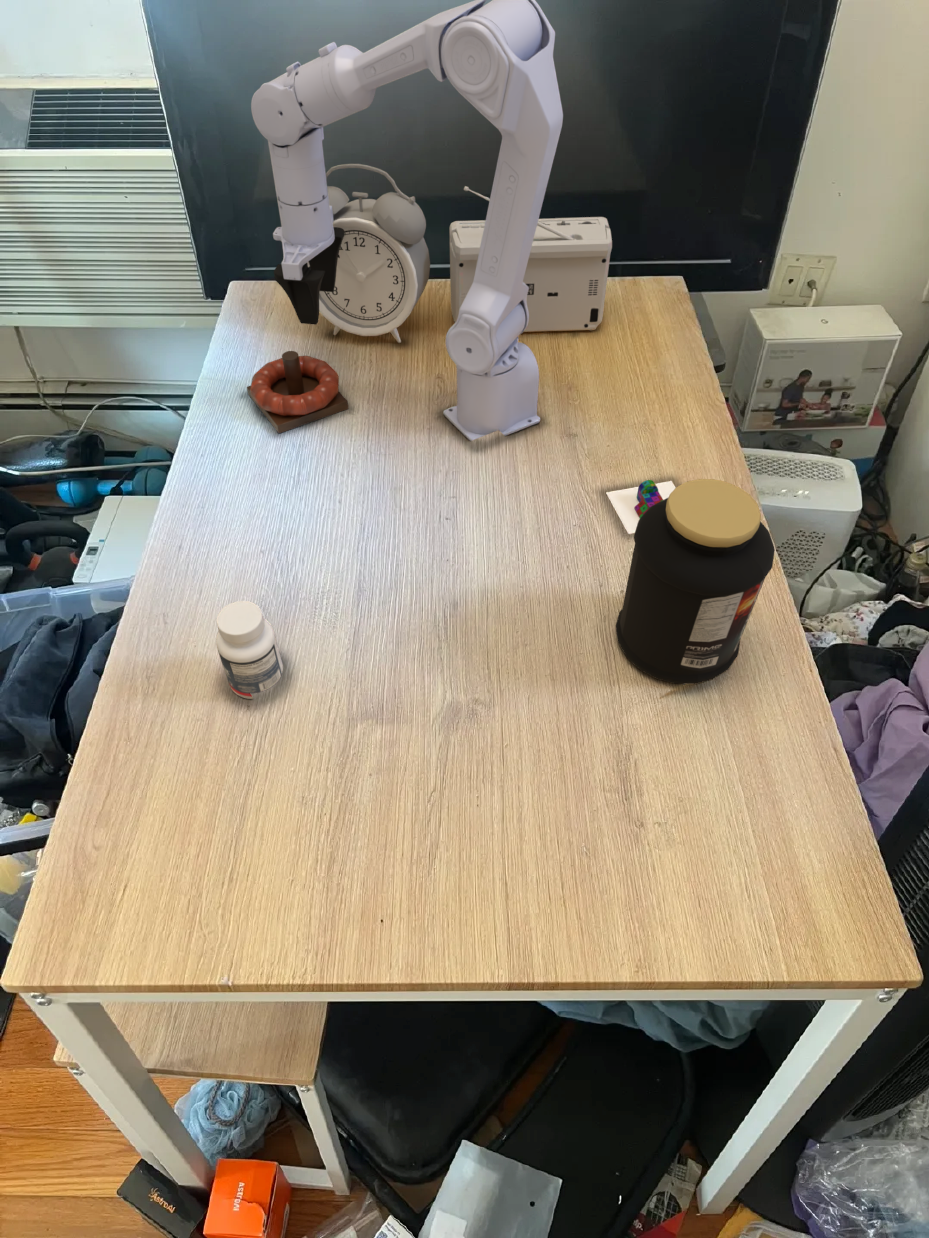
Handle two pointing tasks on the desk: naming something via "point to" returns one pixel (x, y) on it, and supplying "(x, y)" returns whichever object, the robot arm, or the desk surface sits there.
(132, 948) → the desk surface
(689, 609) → the container
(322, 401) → the loop ring
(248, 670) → the pill bottle
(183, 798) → the desk surface
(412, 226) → the alarm clock
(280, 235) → the robot arm
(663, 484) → the white flat piece
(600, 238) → the radio
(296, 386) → the ring toss peg
